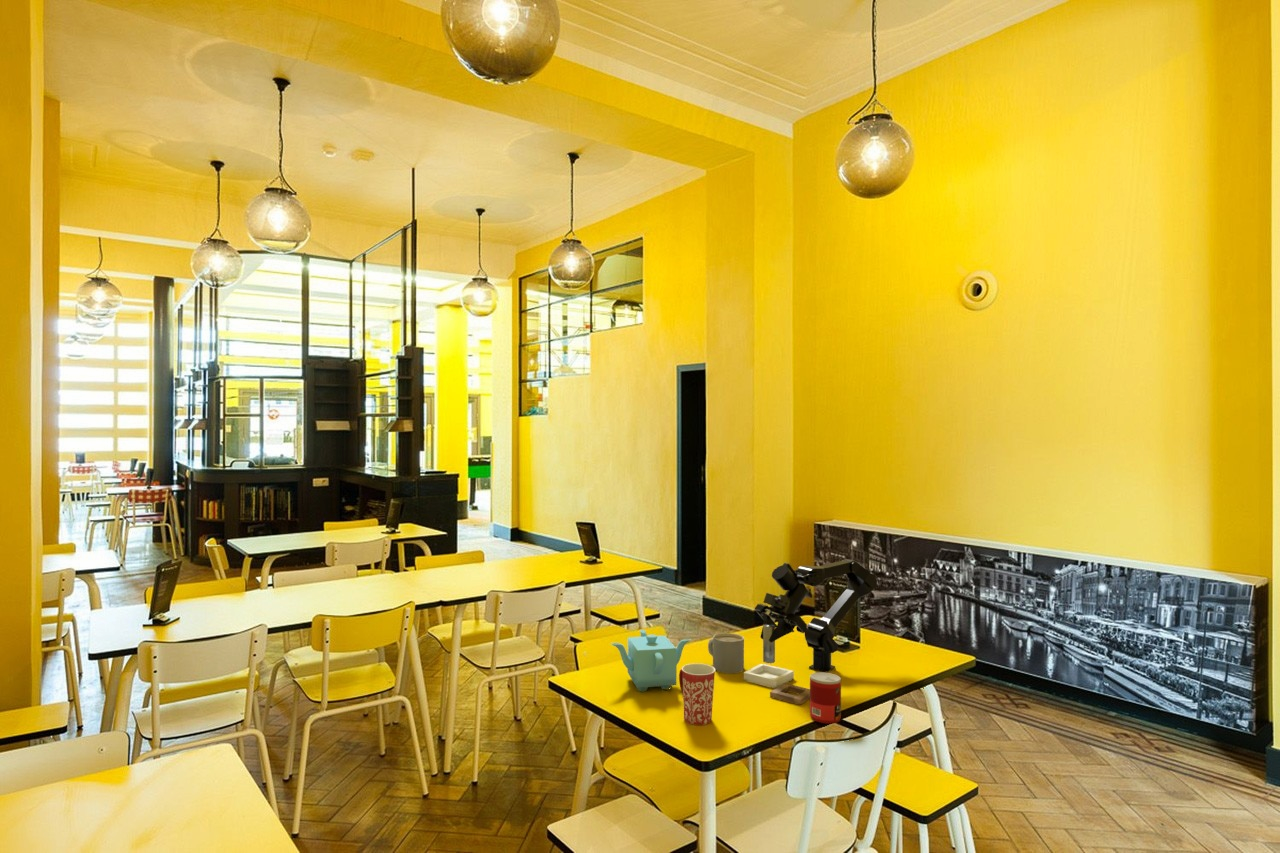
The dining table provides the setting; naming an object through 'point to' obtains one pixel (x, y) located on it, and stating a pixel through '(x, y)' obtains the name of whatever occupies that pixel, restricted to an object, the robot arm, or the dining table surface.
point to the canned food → (825, 697)
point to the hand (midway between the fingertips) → (765, 639)
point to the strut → (768, 644)
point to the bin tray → (768, 675)
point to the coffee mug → (727, 652)
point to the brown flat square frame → (782, 694)
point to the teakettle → (651, 660)
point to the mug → (697, 692)
